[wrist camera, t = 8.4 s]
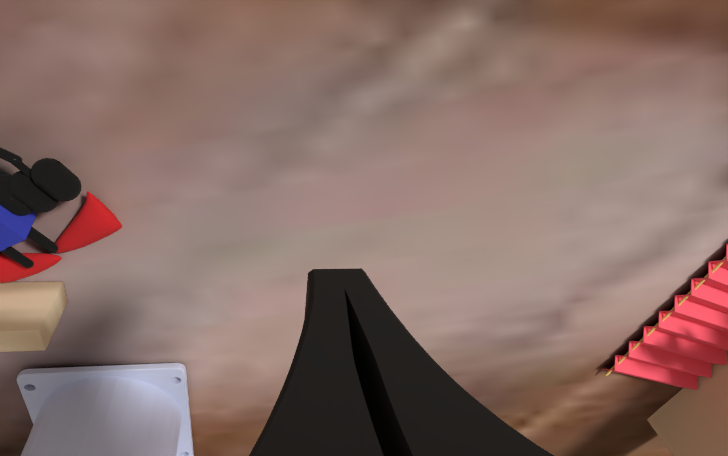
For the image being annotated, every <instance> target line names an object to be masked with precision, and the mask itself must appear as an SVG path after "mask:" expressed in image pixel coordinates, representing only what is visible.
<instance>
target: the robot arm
mask: <svg viewBox="0 0 728 456" xmlns="http://www.w3.org/2000/svg"><path fill="white" fill-rule="evenodd" d="M175 377H178V378H175ZM17 383H18V386H19V388H20V391H21V394H22V396H23V399H24V401H25V404H26V407H27V409H28V412H29V414H30V417H31V420H32V422H33V427H32V430H31V432H30V435H29V437H28V439H27V442H26V444H25V447H24V449H23V451H22V454H21V456H194V452H193V441H192V430H191V419H190V408H189V397H188V386H187V375H186V368H185V366H184V365H183V364H180V363H159V364H135V365H111V366H87V367H63V368H39V369H25V370H22V371H20V373H19V374H18V377H17ZM249 456H554V455H552V454H550V453H549V452H547V451H545V450H544V449H542V448H541V447H539V446H538V445H536V444H535V443H533V442H532V441H530V440H529V439H527V438H526V437H524V436H523V435H522V434H520V433H519V432H517V431H516V430H514V429H513V428H512V427H510V426H509V425H507V424H506V423H505V422H504V421H502V420H501V419H500V418H498V417H497V416H496V415H495V414H493V413H492V412H491V411H490V410H488V409H487V408H486V407H485V406H483V405H482V404H481V403H480V402H478V401H477V400H476V399H475V398H473V397H472V396H471V395H470V394H469V393H468V392H466V391H465V390H464V389H463V388H462V387H461V386H460V385H459V384H457V383H456V382H455V381H454V380H453V379H452V378H451V377H450V376H449V375H448V374H447V373H446V372H445V371H444V370H443V369H442V368H441V367H440V366H439V365H438V364H437V363H436V362H435V361H434V360H433V359H432V358H431V357H430V356H429V355H428V353H427V352H426V351H425V350H424V349H423V348H422V347H421V346H420V344H419V343H418V342H417V341H416V340H415V339H414V338H413V336H412V335H411V334H410V333H409V332H408V330H407V329H406V328H405V327H404V325H403V324H402V323H401V322H400V320H399V319H398V318H397V317H396V315H395V314H394V313H393V311H392V310H391V309H390V308H389V306H388V305H387V303H386V302H385V301H384V299H383V298H382V297H381V295H380V294H379V292H378V291H377V289H376V288H375V286H374V285H373V284H372V282H371V280H370V279H369V277H368V276H367V274H366V273H365V272H364V271H363V270H362V269H313V270H312V271H310V272H309V273H308V281H307V294H306V308H305V320H304V324H303V329H302V333H301V336H300V339H299V343H298V346H297V349H296V352H295V355H294V359H293V362H292V364H291V367H290V370H289V373H288V375H287V378H286V380H285V383H284V385H283V388H282V390H281V392H280V395H279V397H278V399H277V401H276V404H275V406H274V408H273V410H272V412H271V415H270V417H269V419H268V421H267V423H266V425H265V427H264V429H263V431H262V433H261V435H260V437H259V438H258V440H257V442H256V444H255V446H254V448H253V449H252V451H251V453H250V455H249Z"/></svg>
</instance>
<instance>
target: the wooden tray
mask: <svg viewBox="0 0 728 456" xmlns="http://www.w3.org/2000/svg"><path fill="white" fill-rule="evenodd" d="M67 303H68V299H67V296H66V292H65V288H64V284H63V282H7V283H0V352H13V351H42V350H46V348H47V346H48V344H49V342H50V340H51V337H52V335H53V333H54V331H55V329H56V327H57V324H58V322H59V320H60V318H61V316H62V313H63V311H64V309H65V307H66V305H67Z"/></svg>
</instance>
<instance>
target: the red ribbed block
mask: <svg viewBox="0 0 728 456" xmlns="http://www.w3.org/2000/svg"><path fill="white" fill-rule="evenodd" d="M642 341H643V342H642ZM604 370H608V372H607V373H606V374H605V375H606V376H607V375H609V374H610V373H611V372H617V373H621V374H625V375H630V376H634V377H638V378H643V379H647V380H651V381H656V382H660V383H664V384H669V385H673V386H677V387H682V388H683V389H682V390H680V391H679V392H678V393H677V394H676V395H675V396H673V397H672V398H671V399H670V400H669V401H668V402H667V403H665V404H664V405H663V406H662V407H661V408H660V409H658V410H657V411H656V412H655V413H654V414H653V415H651V416H650V417H649V418H648V419H647V421H648V422H649V423H650V425H651V426H652V428H653V429H654V430H655V432H656V433H657V434H658V436H659V437H660V439H661V440H662V441H663V443H664V444H665V445H666V447H667V448H668V450H669V451H670V452H671V454H672V455H673V456H728V243H726V256H725V257H724V258H723V259H722V260H718V261H708V274H707V275H706V276H705V277H704V278H692V279H691V291H690V292H689V293H688V294H687V295H675V303H674V307H673V308H672V309H671V310H670V311H659V322H658V323H657V324H656V325H655V326H654V327H653V326H644V332H643V338H642V339H641V340H640V341H629V351H628V352H627V353H626V354H625V355H624V356H621V355H615V365H614V366H613V367H612V368H611V369H604Z"/></svg>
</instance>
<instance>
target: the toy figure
mask: <svg viewBox="0 0 728 456" xmlns="http://www.w3.org/2000/svg"><path fill="white" fill-rule="evenodd" d="M0 158H2V159H4V160H6V161H8V162H10V163H12V164H13V165H14V166H15V167H17V168H18V169H19V170H20V171H19V172H16V173H14V174H13V175H9V174H0V252H2V253H0V283H7V282H12V281H16V280H19V279H22V278H25V277H28V276H31V275H34V274H37V273H39V272H41V271H43V270H46V269H48V268H49V267H51V266H53V265H55V264H56V263H57V262H59V261H60V260H61V259H62V258H61V257H60V256H57V255H53V254H44V253H20V252H19V251H17V250H16V249H14V248H12V247H11V246H12V245H14V244H17V243H19V242H21V241H24V240H26V238H27V236H28V237H29V238H30V239H32V240H33V241H35V242H36V243H38V244H39V245H40V246H42V247H43V248H45V249H46V250H48V251H49V252H51V253H63V252H67V251H71V250H75V249H78V248H81V247H84V246H87V245H89V244H91V243H93V242H96V241H98V240H100V239H102V238H104V237H106V236H109V235H110V234H112V233H114V232H116V231H117V230H119V229H120V228H122V225H121V223H120V222H119V221H118V220H117V218H116V217H115V215H114V214H113V213H112V212H111V211H110V210H109V209H108V208H107V207H106V206H105V205H104V204H103V203H102V202H100V201H99V200H98V199H97V198H96V197H95V196H94V195H92V194H91V193H90V192H87V197H86V202H85V204H84V205H83V206H82V208H81V210H80V211H79V213H78V214H77V215H76V217H75V218H74V219H73V220H72V222H71V223H70V224H69V225H68V227H67V228H66V229H65V230H64V232H63V233H62V234H61V236H60V237H59V238H58V240H57V241H56V243H54V242H52V241H51V240H49V239H48V238H47V237H45V236H44V235H43V234H41V233H40V232H38V231H37V230H36V229H34V228H33V227H32V224H33V222H34V219H35V217H36V215H37V214H36V213H34V212H33V211H35V212H48V211H50V210H52V209H54V208H55V207H56V206H57V204H58V201H70V200H73V199H74V198H76V197H77V196H78V195H79V194H80V191H81V183H80V180H79V179H78V177H77V176H76V175H74V174H73V173H72V172H71V171H70V170H69V169H68V168H66V167H65V166H64V165H63V164H62V163H61V162H59V161H57V160H55V159H50V158H45V159H41V160H39V161H37V162H36V163H35V164H34V165H33V166H32V169H30V168H29V167H27V166H26V165H25V164H24V163H22V159H21V157H20V156H17V155H15V154H13V153H11V152H9V151H7V150H5V149H2V148H0Z"/></svg>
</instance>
